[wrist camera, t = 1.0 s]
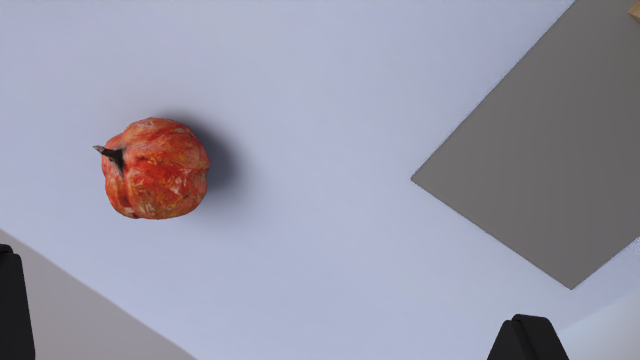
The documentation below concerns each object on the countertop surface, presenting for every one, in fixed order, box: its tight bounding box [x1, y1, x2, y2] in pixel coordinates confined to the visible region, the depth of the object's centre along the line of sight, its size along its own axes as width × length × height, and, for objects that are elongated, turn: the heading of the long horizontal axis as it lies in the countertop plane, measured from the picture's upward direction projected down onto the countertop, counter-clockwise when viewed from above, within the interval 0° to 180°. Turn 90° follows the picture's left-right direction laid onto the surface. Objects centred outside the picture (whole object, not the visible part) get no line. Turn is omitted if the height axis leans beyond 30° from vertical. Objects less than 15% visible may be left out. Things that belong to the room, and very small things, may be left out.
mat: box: [411, 0, 640, 290], centre depth 38 cm, size 26×18×1 cm
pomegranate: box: [93, 118, 210, 220], centre depth 37 cm, size 7×7×10 cm
